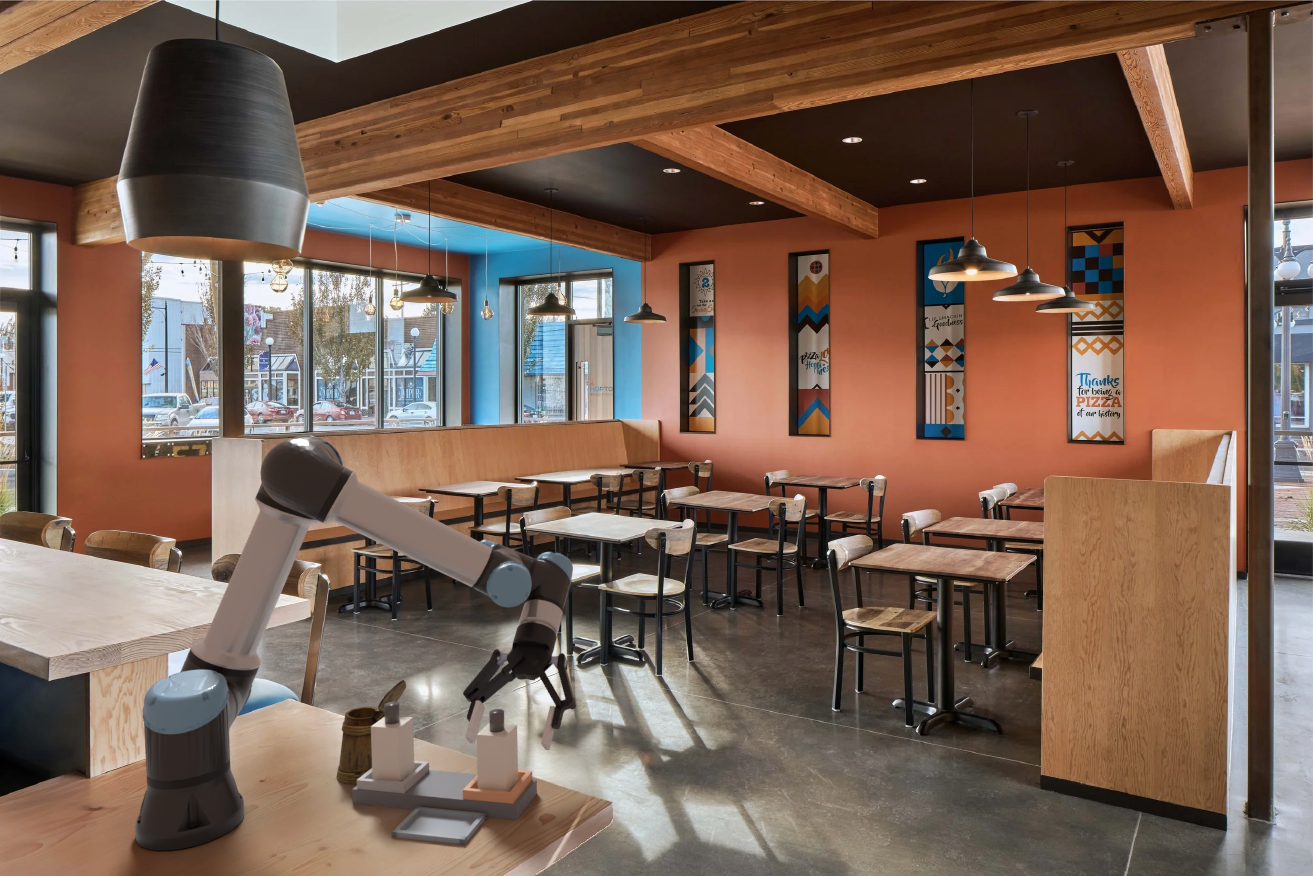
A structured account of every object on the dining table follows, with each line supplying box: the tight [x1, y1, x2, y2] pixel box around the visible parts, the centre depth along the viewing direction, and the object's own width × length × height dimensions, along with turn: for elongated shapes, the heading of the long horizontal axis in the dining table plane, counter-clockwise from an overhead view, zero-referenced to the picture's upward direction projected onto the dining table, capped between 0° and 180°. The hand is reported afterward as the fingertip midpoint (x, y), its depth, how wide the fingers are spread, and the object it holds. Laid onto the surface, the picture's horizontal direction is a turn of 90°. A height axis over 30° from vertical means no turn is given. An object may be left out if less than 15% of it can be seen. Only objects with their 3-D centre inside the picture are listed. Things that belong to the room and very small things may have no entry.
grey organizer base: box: [351, 760, 538, 821], centre depth 139 cm, size 29×9×4 cm, turn 78°
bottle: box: [476, 708, 519, 792], centre depth 137 cm, size 5×5×13 cm
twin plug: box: [371, 701, 415, 782], centre depth 141 cm, size 5×5×13 cm
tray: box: [391, 807, 487, 846], centre depth 130 cm, size 12×8×1 cm, turn 78°
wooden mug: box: [336, 679, 407, 785], centre depth 150 cm, size 9×14×18 cm, turn 72°
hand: (507, 743), depth 140 cm, fingers open, 13 cm apart
